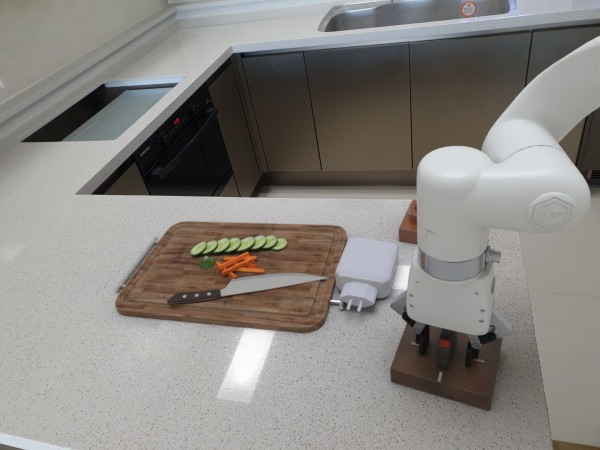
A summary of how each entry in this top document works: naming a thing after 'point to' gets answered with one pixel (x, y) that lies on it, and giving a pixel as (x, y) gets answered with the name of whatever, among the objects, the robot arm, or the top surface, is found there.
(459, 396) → the brown flat block
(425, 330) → the robot arm
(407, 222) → the brown base with collar
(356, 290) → the charger
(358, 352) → the top surface
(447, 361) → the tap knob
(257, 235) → the chopping board
